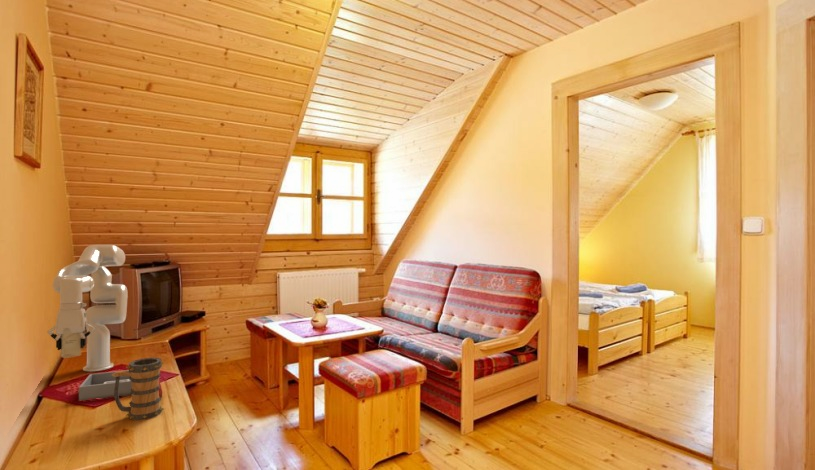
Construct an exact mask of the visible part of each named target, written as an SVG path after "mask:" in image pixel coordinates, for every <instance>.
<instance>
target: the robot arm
mask: <svg viewBox="0 0 815 470" xmlns="http://www.w3.org/2000/svg"><path fill="white" fill-rule="evenodd" d="M125 262H126V253H125V252H124V250H123V249H122V248H120V247H119V246H116V245H115V244H114V245H113V244H91V245H88V246H86V247H85V248H84V250H83V251H82V252H81V255H80V257H79V259H78V260H77V261H75V262H72V263H71V264H68V265H66V266H64V267H62V268H61V269H60V270H59V271H58V272H57V274H56V276H55V277H54V279H53V282H52V288H53V291H54V292H56V293H59V297H60V298H59V310H58V311H57V315H56V320H55V325H54V326H53V327H50V329H49V330H47V332H46V333H47V334H48V335H49V336H50V337H51V338H52V339H54V341H55V347H56V349H57V351H61V335H62V334H63V329H70V330H71V332H72V333H74V334H76V333H79V334H80V336H81V346H80V347H81V349H84V348H85V346H86V365H85V366H83V367H82V371H83V372H86V373H87V372H89V373H90V372H91V373H93V372H100V371H106V370H109V369H111V368H113V367H114V363H113V362H111V351H110V350H111V332H110V330H109V328H108V327H107V326H106V325H115V324H116V325H118V324H122V323H125V321H126V319H127V309H128V298H129V296H128V295H129V294H128V293H129V292H128V288H127V286H126V285H125V284H122V283H112V280H113V278H112V277H113V274H112V273H111V271H110V270H109V269H108V268H107V267H121V266H123V265H124V264H125ZM90 275H91V276H90ZM88 292H90V297H89V298H90V301H91V302H92V303H94V304H95V303H96V304H107V303H108V304H109V303H115V304H109V305H93V306H90V307H88V308H86V309H85V308H84V307H87V302H86V303H84V302H83V293H88Z"/></svg>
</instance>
